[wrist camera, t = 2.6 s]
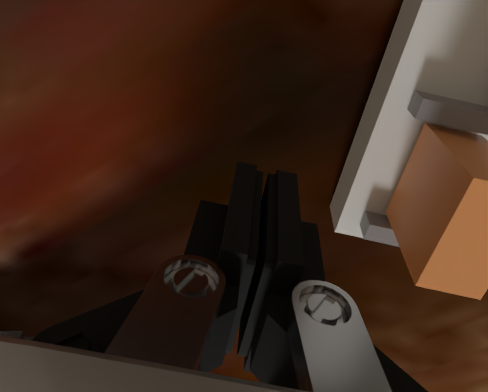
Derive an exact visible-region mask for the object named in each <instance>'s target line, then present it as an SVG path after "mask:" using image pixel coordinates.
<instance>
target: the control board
mask: <svg viewBox="0 0 488 392" xmlns="http://www.w3.org/2000/svg"><path fill="white" fill-rule="evenodd" d="M425 123H429V124H433V125H437V126H442V127H446V128H451V129H455V130H460V131H464V132H468V133H473V134H477V135H482V136H483V137H484V138H485V139H486V140H488V0H404V1H403V3H402V6H401V9H400V12H399V14H398V17H397V20H396V23H395V26H394V28H393V31H392V34H391V37H390V40H389V42H388V45H387V48H386V51H385V53H384V56H383V59H382V62H381V65H380V67H379V70H378V73H377V76H376V79H375V81H374V84H373V87H372V90H371V92H370V95H369V98H368V101H367V104H366V106H365V109H364V112H363V115H362V118H361V120H360V123H359V126H358V129H357V131H356V134H355V137H354V140H353V143H352V145H351V148H350V151H349V154H348V157H347V159H346V162H345V165H344V168H343V170H342V173H341V176H340V179H339V182H338V184H337V187H336V190H335V193H334V196H333V198H332V201H331V204H330V209H331V215H332V220H333V225H334V231H335V232H338V233H342V234H347V235H352V236H356V237H361V238H364V239H366V240H371V241H375V242H380V243H385V244H389V245H394V246H398V247H399V244H398V242H397V239H396V237H395V234H394V232H393V229H392V227H391V225H390V222H389V220H388V217H387V215H386V210H387V208H388V205H389V203H390V201H391V199H392V196H393V194H394V192H395V190H396V187H397V185H398V183H399V181H400V178H401V176H402V174H403V172H404V169H405V167H406V165H407V162H408V160H409V158H410V156H411V153H412V151H413V149H414V147H415V144H416V142H417V140H418V138H419V135H420V133H421V131H422V129H423V126H424V124H425Z"/></svg>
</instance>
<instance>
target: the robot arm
mask: <svg viewBox="0 0 488 392" xmlns="http://www.w3.org/2000/svg"><path fill="white" fill-rule="evenodd" d="M256 167H257V165H252V164H247V163H243V162H237V167H236V171H235V176H234V181H233V185H232V190H231V195H230V199H229V204H228V206H227V205H223V204H218V203H213V202H208V201H203V200H201V202H200V205H199V208H198V211H197V214H196V217H195V221H194V224H193V227H192V230H191V234H190V237H189V240H188V243H187V246H186V250H185V253H184V255H179V256H175V257H171V258H170V259H168V260H166V261H164V262H163V263H162V264H161V265H160V266H159V267H158V269H157V271H156V272H155V274H154V275H153V277H152V279H151V280H150V282H149V283H148V285H147V286H146V288H145V289H144V290H142V291H139V292H137V293H134V294H132V295H129V296H126V297H124V298H121V299H119V300H116V301H114V302H111V303H109V304H106V305H104V306H101V307H99V308H96V309H94V310H91V311H89V312H86V313H84V314H81V315H79V316H76V317H74V318H71V319H69V320H66V321H64V322H61V323H59V324H56V325H53V326H51V327H49V328H47V329H45V330H44V331H42V332H40V333H39V334H37V335H36V336H35V337H23V331H0V392H428V391H426V390H425V389H424V388H423V387H422V386H421V385H420V384H418V383H417V382H416V381H415V380H414V379H413V378H411V377H410V376H409V375H408V374H407V373H406V372H404V371H403V370H402V369H401V368H400V367H399V366H397V365H396V364H395V363H394V362H393V361H392V360H390V359H389V358H388V357H387V356H386V355H385V354H384V353H382V352H381V351H380V350H379V349H378V348H377V347H375V346H374V345H373V344H372V341H371V339H370V337H369V334H368V332H367V329H366V327H365V324H364V322H363V319H362V317H361V315H360V312H359V310H358V307H357V305H356V304H355V302H354V300H353V299H352V298H351V297H350V296H349V295H348V294H347V293H346V292H345V291H343V290H342V289H340V288H339V287H337V286H335V285H333V284H331V283H328V282H325V275H324V268H323V261H322V254H321V248H320V241H319V234H318V228H317V225H316V224H314V223H309V222H304V221H301V217H300V205H299V194H298V182H297V174H294V173H290V172H285V171H280V170H277V171H276V174H275V175H274V174H270V173H269V174H268V177H267V181H266V184H265V188H264V192H263V196H262V182H263V172H260V171H256ZM261 197H262V200H261ZM240 319H241V320H240ZM239 322H240V330H239V340H238V350H237V355H240V356H245V361H244V371H247V372H252V373H253V374H254V375H255V376H256V377H257V379H258V380H259V381H260V382H255V381H249V380H244V379H239V378H234V377H228V376H223V375H218V374H213V373H208V372H210V371H212V370H213V369H215V368H217V367H218V366H220V365H222V362H223V359H224V355H225V353H231V351H232V347H233V344H234V340H235V337H236V333H237V330H238V326H239Z"/></svg>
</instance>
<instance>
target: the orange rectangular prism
mask: <svg viewBox="0 0 488 392" xmlns="http://www.w3.org/2000/svg"><path fill="white" fill-rule="evenodd" d="M386 215H387V217H388V220H389V222H390V225H391V227H392V229H393V232H394V234H395V237H396V239H397V242H398V244H399V247H400V249H401V252H402V254H403V257H404V259H405V262H406V264H407V266H408V269H409V271H410V274H411V276H412V279H413V281H414V284H415V286H419V287H424V288H428V289H433V290H438V291H442V292H447V293H452V294H456V295H461V296H465V297H470V298H475V299H479V300H481V298H482V297H483V295H484V294H485V292H486V291H487V289H488V140H486V139H485V138H484V137H483V136H482V135H477V134H473V133H468V132H464V131H460V130H455V129H451V128H446V127H442V126H437V125H433V124H429V123H425V124H424V126H423V129H422V131H421V133H420V135H419V138H418V140H417V142H416V144H415V147H414V149H413V151H412V153H411V156H410V158H409V160H408V162H407V165H406V167H405V169H404V172H403V174H402V176H401V178H400V181H399V183H398V185H397V187H396V190H395V192H394V194H393V196H392V199H391V201H390V203H389V205H388V208H387V210H386Z"/></svg>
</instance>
